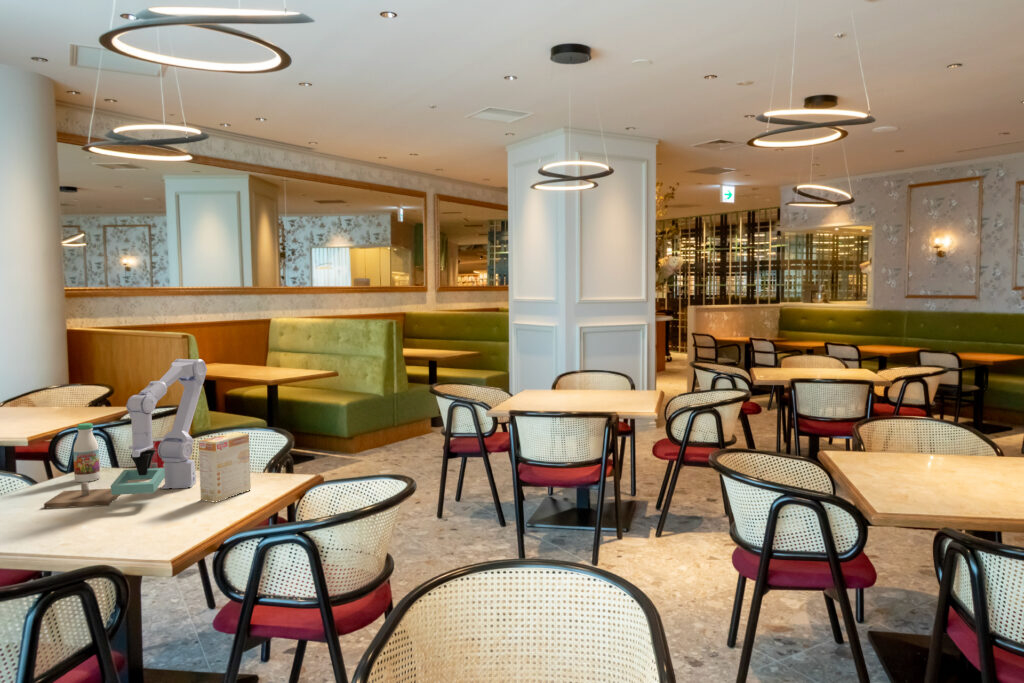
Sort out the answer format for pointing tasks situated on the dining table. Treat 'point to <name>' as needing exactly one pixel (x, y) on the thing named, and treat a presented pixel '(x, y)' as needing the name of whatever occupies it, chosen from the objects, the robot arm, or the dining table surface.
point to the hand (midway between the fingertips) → (143, 474)
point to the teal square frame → (123, 487)
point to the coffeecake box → (224, 466)
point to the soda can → (156, 454)
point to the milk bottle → (86, 455)
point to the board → (82, 497)
